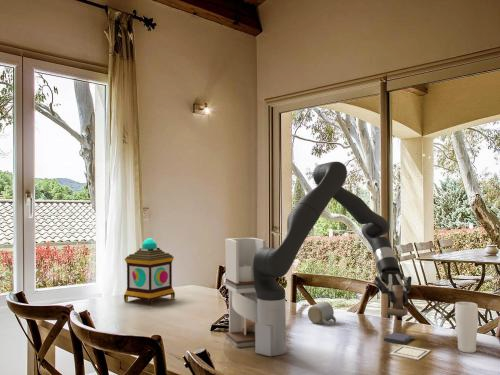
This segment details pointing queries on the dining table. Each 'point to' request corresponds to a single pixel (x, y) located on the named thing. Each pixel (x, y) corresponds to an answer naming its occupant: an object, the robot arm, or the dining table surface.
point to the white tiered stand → (241, 289)
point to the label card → (410, 352)
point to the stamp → (398, 302)
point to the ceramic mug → (321, 313)
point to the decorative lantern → (149, 273)
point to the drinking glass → (466, 325)
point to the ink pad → (398, 338)
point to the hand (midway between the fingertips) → (400, 302)
